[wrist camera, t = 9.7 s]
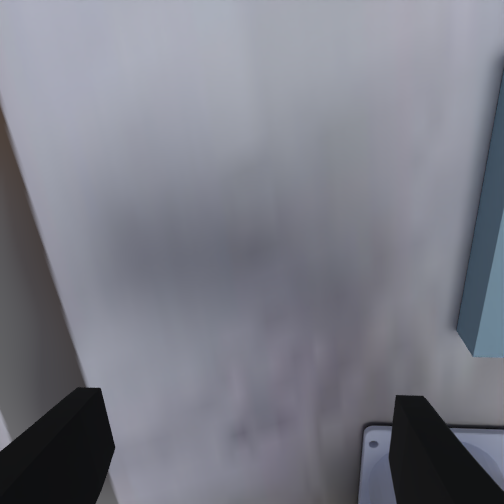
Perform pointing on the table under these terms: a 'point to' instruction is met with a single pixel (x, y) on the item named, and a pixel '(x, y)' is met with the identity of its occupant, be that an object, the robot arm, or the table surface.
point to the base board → (487, 257)
